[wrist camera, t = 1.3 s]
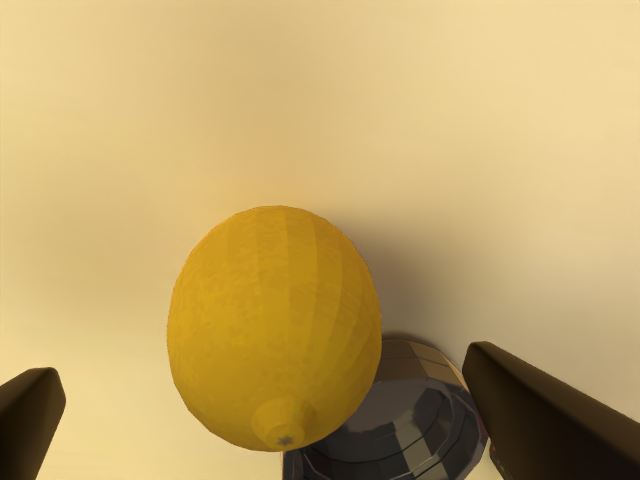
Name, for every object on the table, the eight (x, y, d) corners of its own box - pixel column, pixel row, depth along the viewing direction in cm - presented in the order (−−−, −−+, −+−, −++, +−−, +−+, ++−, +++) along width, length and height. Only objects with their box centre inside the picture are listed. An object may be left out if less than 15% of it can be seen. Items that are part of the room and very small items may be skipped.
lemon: (176, 276, 13) (60, 510, 6) (241, 150, 11) (200, 243, 4) (299, 326, 15) (333, 553, 7) (370, 222, 13) (498, 376, 6)
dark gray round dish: (437, 456, 20) (462, 509, 17) (278, 475, 18) (280, 536, 16) (474, 327, 16) (513, 370, 14) (280, 337, 15) (284, 388, 12)
